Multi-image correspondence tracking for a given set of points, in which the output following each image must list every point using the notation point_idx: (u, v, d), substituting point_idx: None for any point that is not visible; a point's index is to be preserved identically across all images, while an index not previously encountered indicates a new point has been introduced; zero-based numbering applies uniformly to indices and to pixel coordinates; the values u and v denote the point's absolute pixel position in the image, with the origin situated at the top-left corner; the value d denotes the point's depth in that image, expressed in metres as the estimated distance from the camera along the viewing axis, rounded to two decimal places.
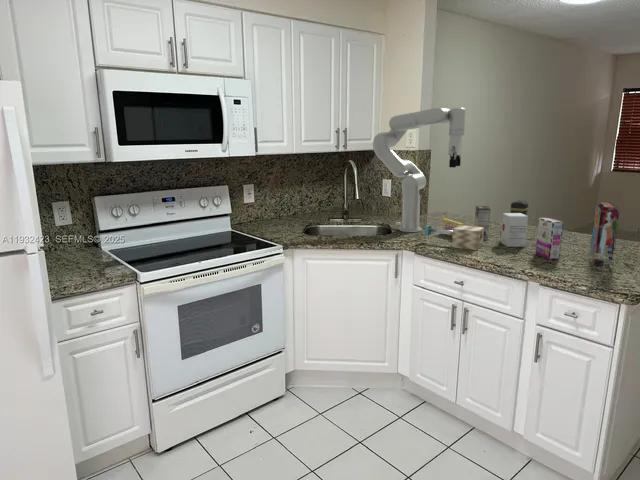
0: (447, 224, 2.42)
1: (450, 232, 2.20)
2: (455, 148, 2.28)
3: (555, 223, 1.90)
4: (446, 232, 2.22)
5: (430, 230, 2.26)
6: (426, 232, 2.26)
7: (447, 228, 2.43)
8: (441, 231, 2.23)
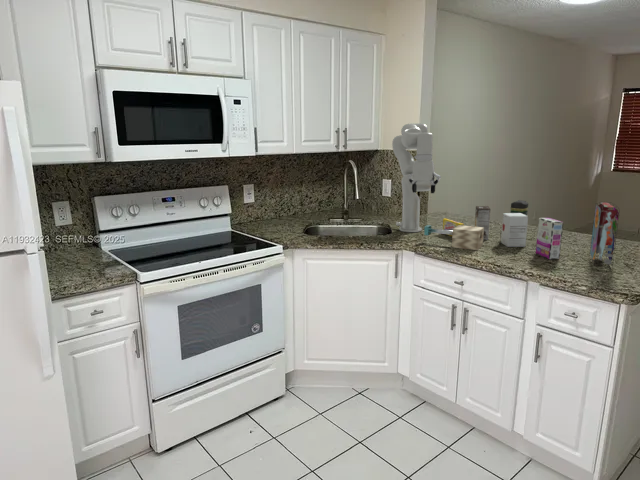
0: (447, 224, 2.42)
1: (450, 232, 2.20)
2: None
3: (555, 223, 1.90)
4: (446, 232, 2.22)
5: (430, 230, 2.26)
6: (426, 232, 2.26)
7: (447, 228, 2.43)
8: (441, 231, 2.23)
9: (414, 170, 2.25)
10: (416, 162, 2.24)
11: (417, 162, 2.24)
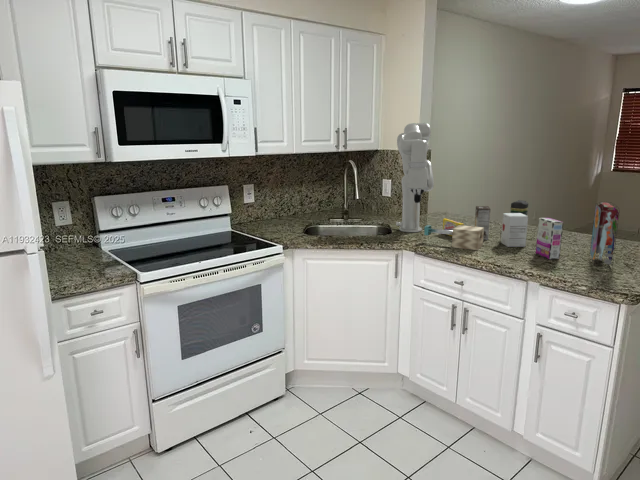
0: (447, 224, 2.42)
1: (450, 232, 2.20)
2: None
3: (555, 223, 1.90)
4: (446, 232, 2.22)
5: (430, 230, 2.26)
6: (426, 232, 2.26)
7: (447, 228, 2.43)
8: (441, 231, 2.23)
9: (408, 177, 2.25)
10: (410, 169, 2.23)
11: (411, 169, 2.23)
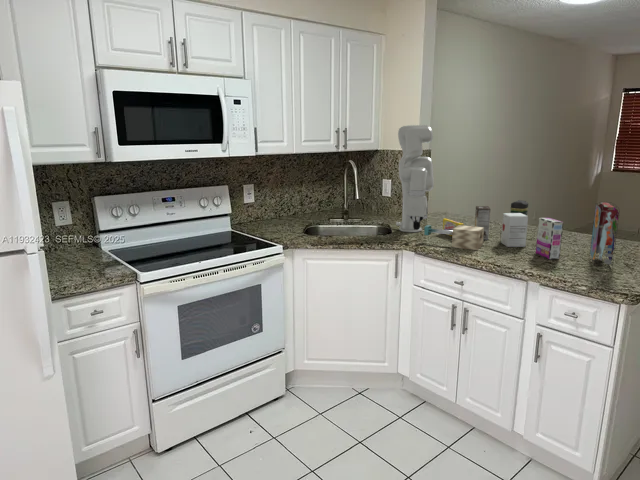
0: (447, 224, 2.42)
1: (450, 232, 2.20)
2: None
3: (555, 223, 1.90)
4: (446, 232, 2.22)
5: (430, 230, 2.26)
6: (426, 232, 2.26)
7: (447, 228, 2.43)
8: (441, 231, 2.23)
9: (407, 205, 2.28)
10: (410, 197, 2.27)
11: (411, 197, 2.26)
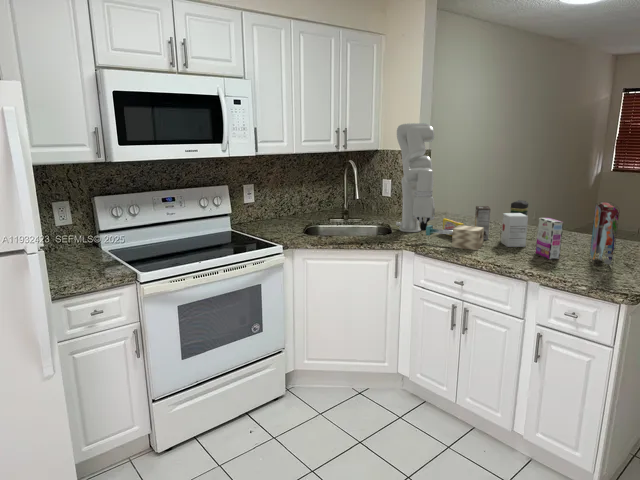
0: (447, 224, 2.42)
1: (452, 232, 2.20)
2: None
3: (555, 223, 1.90)
4: (448, 232, 2.21)
5: (432, 230, 2.25)
6: (428, 232, 2.25)
7: (447, 228, 2.43)
8: (443, 231, 2.22)
9: (414, 206, 2.26)
10: (416, 198, 2.25)
11: (417, 198, 2.24)
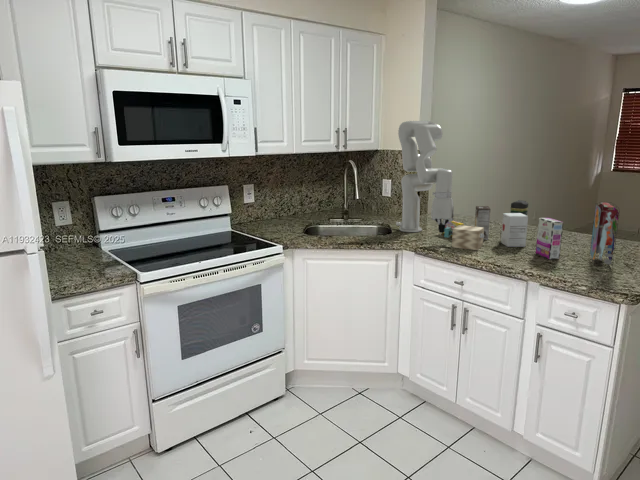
0: (447, 224, 2.42)
1: None
2: None
3: (555, 223, 1.90)
4: None
5: (450, 232, 2.20)
6: (446, 234, 2.20)
7: None
8: None
9: (433, 207, 2.21)
10: (435, 199, 2.20)
11: (436, 199, 2.19)
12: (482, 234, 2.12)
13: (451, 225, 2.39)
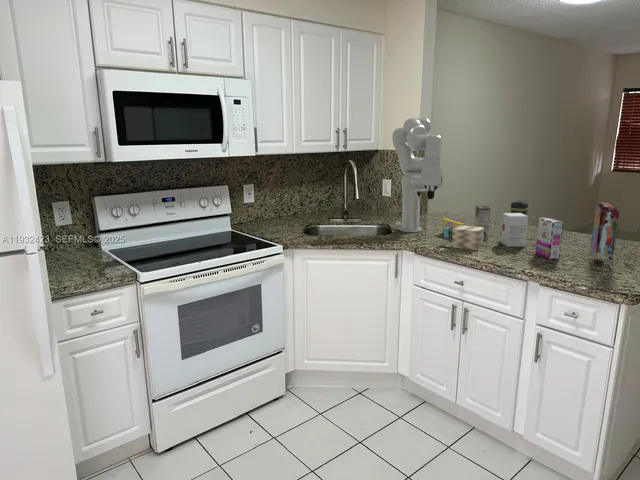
0: (447, 224, 2.42)
1: None
2: None
3: (555, 223, 1.90)
4: None
5: (450, 232, 2.21)
6: (446, 234, 2.21)
7: None
8: None
9: (422, 173, 2.21)
10: (424, 165, 2.19)
11: (425, 165, 2.19)
12: (482, 234, 2.13)
13: (451, 225, 2.39)
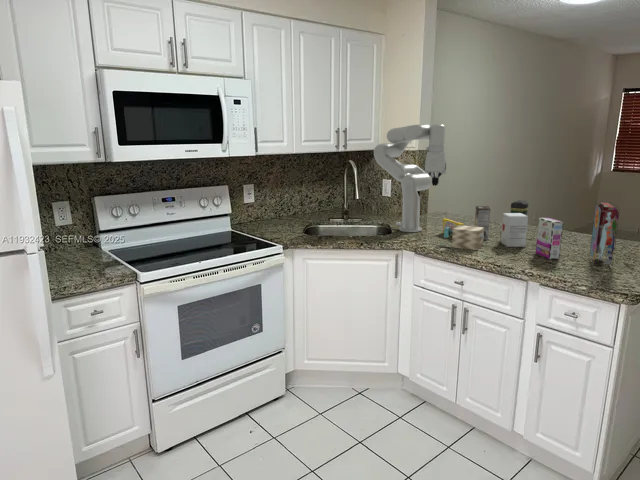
0: (447, 224, 2.42)
1: None
2: None
3: (555, 223, 1.90)
4: None
5: (450, 232, 2.21)
6: (446, 234, 2.21)
7: None
8: None
9: (426, 161, 2.32)
10: (428, 153, 2.31)
11: (429, 153, 2.31)
12: (482, 234, 2.13)
13: (451, 225, 2.39)
